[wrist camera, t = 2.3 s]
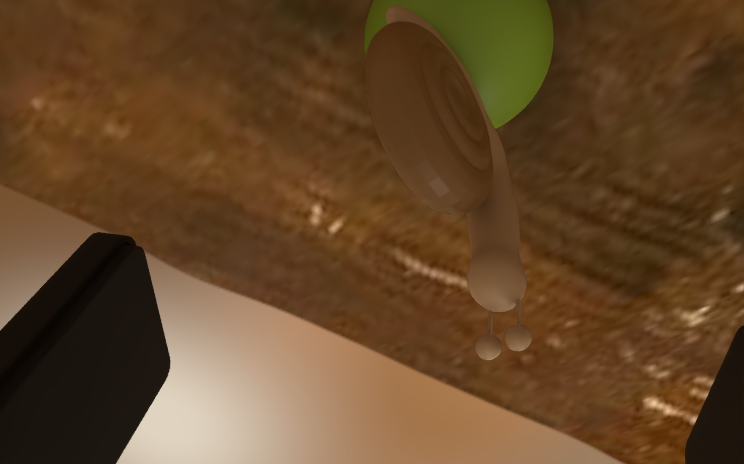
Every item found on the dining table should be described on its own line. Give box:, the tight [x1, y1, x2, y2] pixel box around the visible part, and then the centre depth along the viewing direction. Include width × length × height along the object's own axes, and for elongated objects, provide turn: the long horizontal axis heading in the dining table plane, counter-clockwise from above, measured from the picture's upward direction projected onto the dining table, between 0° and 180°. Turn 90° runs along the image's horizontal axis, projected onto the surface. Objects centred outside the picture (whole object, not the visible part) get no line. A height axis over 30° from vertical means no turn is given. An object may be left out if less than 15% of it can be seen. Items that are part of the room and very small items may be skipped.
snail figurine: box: [364, 0, 554, 360], centre depth 17 cm, size 5×6×12 cm
